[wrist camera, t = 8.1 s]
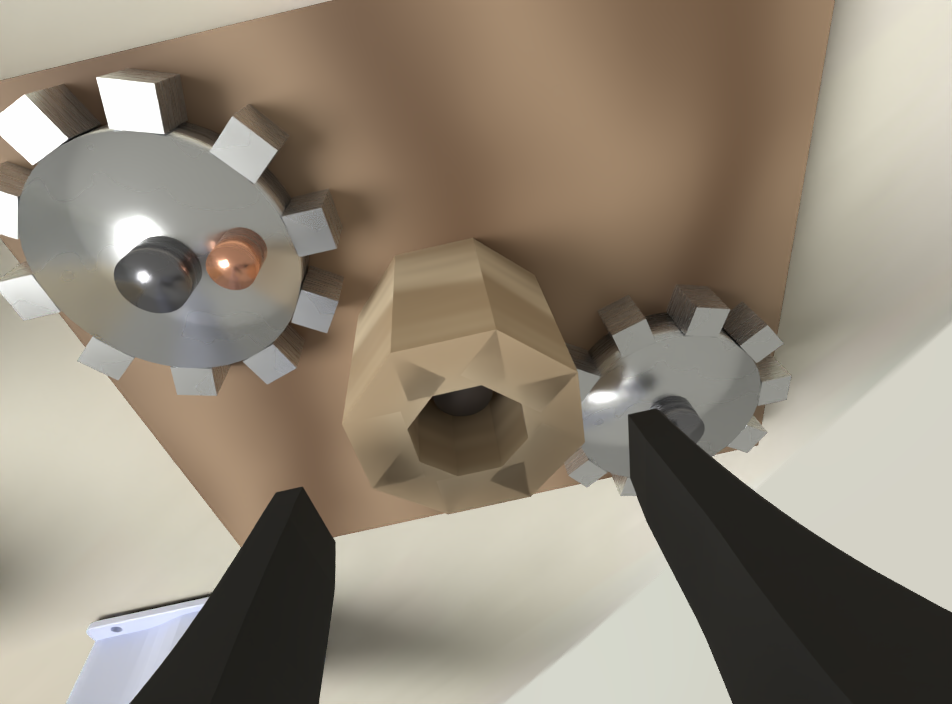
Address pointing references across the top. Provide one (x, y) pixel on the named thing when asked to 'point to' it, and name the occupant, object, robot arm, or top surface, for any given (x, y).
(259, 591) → the robot arm
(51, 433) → the top surface
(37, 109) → the gear
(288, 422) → the gear board
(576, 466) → the gear
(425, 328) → the octagonal wooden tube
